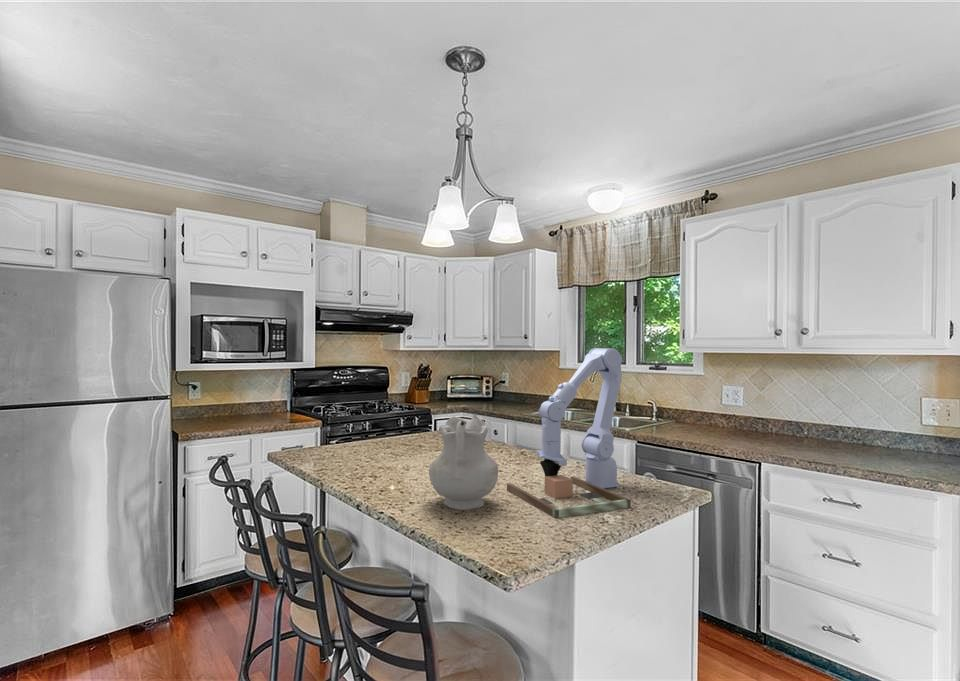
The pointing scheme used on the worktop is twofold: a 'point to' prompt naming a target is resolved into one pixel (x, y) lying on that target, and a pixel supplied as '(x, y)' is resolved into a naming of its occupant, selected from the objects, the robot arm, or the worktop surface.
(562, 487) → the block
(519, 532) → the worktop surface
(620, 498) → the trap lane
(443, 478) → the ceramic pitcher
